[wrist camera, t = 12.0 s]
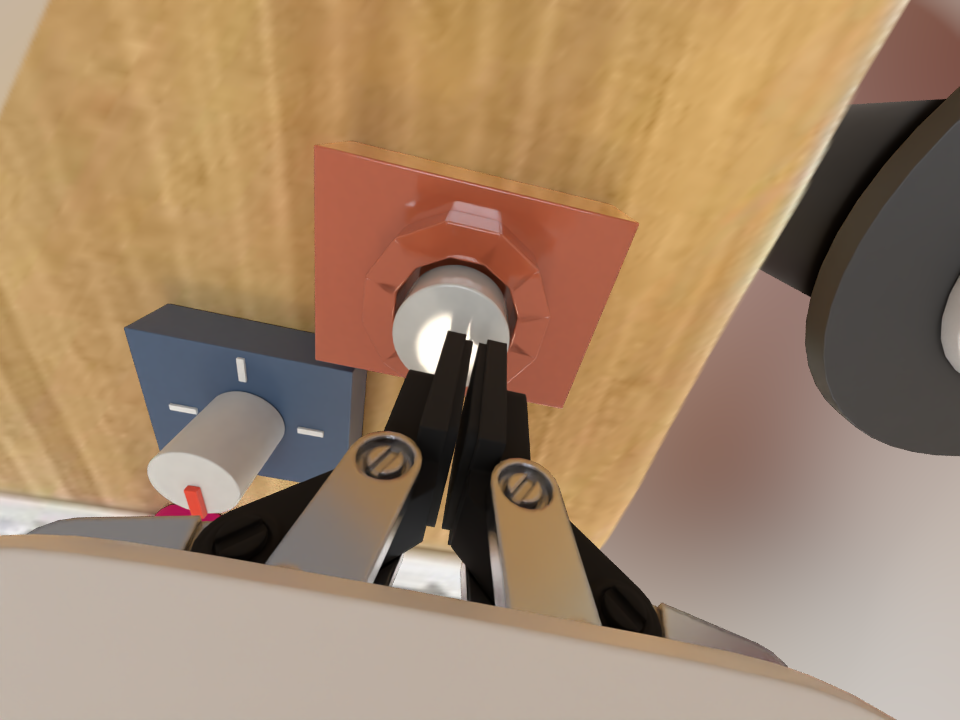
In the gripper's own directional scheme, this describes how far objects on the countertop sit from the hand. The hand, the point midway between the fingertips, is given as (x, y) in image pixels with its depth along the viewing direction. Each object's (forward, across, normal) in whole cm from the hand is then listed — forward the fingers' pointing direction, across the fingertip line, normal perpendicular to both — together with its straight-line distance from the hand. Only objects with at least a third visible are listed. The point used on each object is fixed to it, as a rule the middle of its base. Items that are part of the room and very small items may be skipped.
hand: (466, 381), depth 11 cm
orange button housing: (+10, +1, 0) cm, 10 cm away
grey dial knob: (+7, +11, +10) cm, 16 cm away
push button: (+4, +1, 0) cm, 5 cm away
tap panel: (+10, +11, +10) cm, 18 cm away
